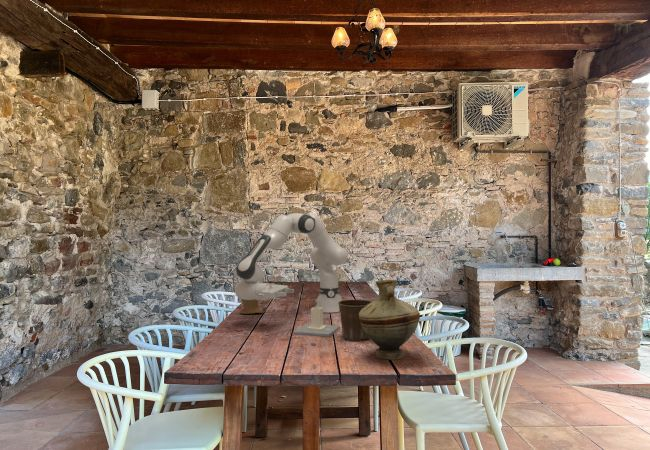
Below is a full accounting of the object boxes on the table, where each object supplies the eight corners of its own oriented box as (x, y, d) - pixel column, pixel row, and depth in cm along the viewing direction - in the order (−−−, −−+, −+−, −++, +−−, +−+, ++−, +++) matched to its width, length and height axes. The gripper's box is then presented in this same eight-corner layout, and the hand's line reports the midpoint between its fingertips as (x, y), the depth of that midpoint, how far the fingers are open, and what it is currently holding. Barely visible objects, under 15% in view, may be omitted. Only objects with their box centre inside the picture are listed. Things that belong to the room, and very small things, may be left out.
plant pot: (372, 343, 187) (371, 306, 187) (335, 341, 191) (335, 305, 191) (375, 334, 203) (374, 299, 203) (341, 332, 206) (341, 299, 207)
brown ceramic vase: (383, 346, 185) (375, 276, 186) (435, 350, 170) (425, 274, 171) (352, 362, 166) (342, 285, 167) (406, 369, 151) (396, 283, 152)
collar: (307, 329, 208) (307, 309, 208) (312, 326, 215) (312, 306, 215) (321, 330, 205) (321, 309, 205) (326, 327, 212) (326, 307, 212)
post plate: (292, 334, 204) (292, 316, 204) (306, 326, 221) (306, 310, 221) (329, 336, 198) (329, 319, 199) (339, 328, 216) (339, 311, 216)
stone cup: (238, 316, 249) (238, 290, 249) (241, 312, 261) (241, 287, 261) (264, 315, 249) (264, 289, 249) (266, 311, 261) (266, 286, 261)
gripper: (255, 288, 209) (281, 289, 205) (272, 282, 229) (297, 283, 224) (255, 301, 209) (281, 302, 205) (273, 294, 229) (297, 295, 225)
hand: (289, 292), depth 215 cm, fingers open, 8 cm apart
